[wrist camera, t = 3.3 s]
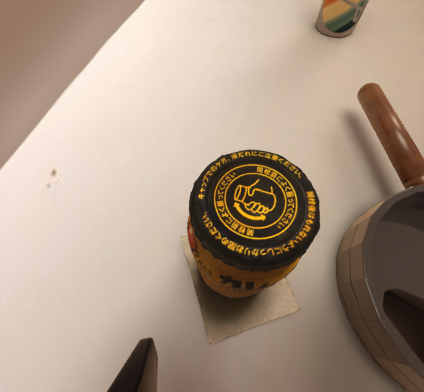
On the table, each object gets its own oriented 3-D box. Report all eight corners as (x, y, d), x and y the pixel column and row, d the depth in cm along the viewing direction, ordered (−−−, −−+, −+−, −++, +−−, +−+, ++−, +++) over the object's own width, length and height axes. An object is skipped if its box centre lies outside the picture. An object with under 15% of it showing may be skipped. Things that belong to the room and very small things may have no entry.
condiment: (256, 213, 21) (295, 116, 11) (299, 309, 18) (423, 308, 7) (181, 237, 21) (141, 157, 10) (209, 343, 17) (196, 400, 6)
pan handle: (426, 196, 19) (448, 184, 17) (403, 198, 19) (422, 187, 17) (368, 94, 25) (380, 77, 23) (350, 96, 25) (361, 79, 23)
